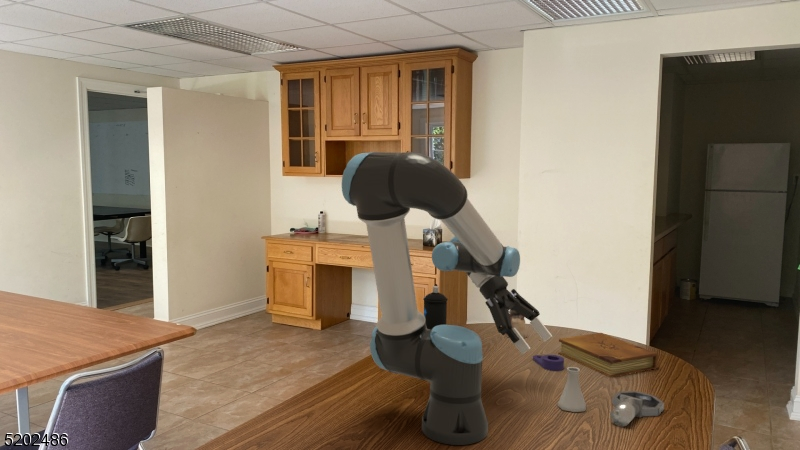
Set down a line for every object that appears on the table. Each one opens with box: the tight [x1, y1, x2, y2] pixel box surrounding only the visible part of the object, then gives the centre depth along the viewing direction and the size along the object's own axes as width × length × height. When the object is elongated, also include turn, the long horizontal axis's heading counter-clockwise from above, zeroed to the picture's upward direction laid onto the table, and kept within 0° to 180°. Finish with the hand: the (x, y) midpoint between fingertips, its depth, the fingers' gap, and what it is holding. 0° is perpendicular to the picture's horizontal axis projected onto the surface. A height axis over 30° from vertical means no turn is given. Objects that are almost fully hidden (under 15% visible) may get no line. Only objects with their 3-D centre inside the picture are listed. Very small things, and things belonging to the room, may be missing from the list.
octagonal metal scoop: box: [610, 390, 665, 428], centre depth 144 cm, size 20×11×4 cm, turn 142°
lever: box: [532, 354, 565, 372], centre depth 178 cm, size 12×6×3 cm, turn 23°
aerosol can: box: [423, 285, 449, 330], centre depth 196 cm, size 8×8×20 cm
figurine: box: [505, 310, 528, 340], centre depth 207 cm, size 7×7×12 cm
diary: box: [557, 332, 659, 379], centre depth 182 cm, size 23×19×6 cm
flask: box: [556, 366, 587, 413], centre depth 146 cm, size 7×7×10 cm
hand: (538, 345), depth 152 cm, fingers open, 13 cm apart
